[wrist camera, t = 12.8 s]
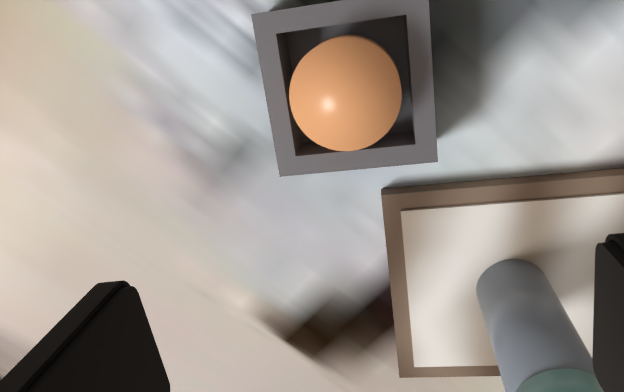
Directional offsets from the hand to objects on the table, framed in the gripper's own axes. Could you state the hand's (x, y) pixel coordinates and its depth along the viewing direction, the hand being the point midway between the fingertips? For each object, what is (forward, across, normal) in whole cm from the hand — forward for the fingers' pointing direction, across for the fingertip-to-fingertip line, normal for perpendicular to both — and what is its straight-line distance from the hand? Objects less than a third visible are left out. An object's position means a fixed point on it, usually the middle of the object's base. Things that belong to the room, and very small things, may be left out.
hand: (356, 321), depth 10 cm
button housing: (+19, +1, -2) cm, 19 cm away
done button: (+16, +1, -2) cm, 16 cm away
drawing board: (+19, -7, +11) cm, 23 cm away
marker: (+18, -7, +11) cm, 22 cm away
